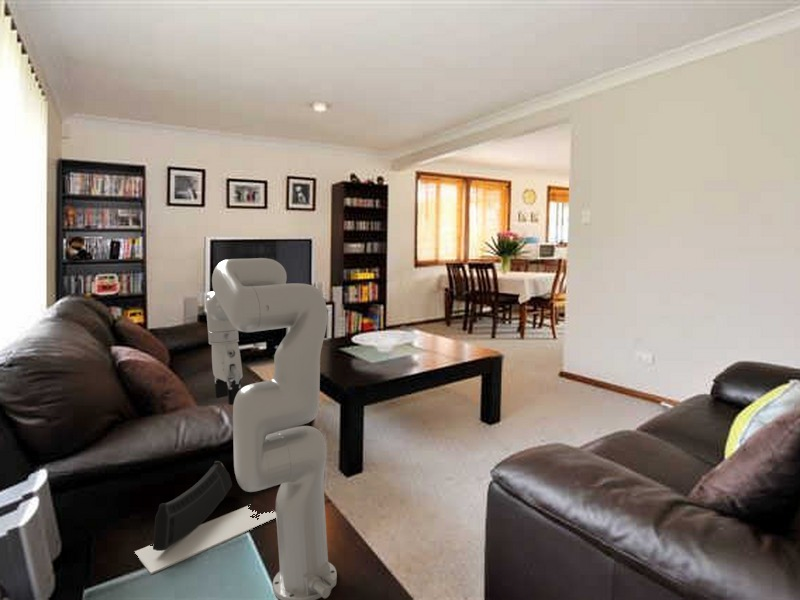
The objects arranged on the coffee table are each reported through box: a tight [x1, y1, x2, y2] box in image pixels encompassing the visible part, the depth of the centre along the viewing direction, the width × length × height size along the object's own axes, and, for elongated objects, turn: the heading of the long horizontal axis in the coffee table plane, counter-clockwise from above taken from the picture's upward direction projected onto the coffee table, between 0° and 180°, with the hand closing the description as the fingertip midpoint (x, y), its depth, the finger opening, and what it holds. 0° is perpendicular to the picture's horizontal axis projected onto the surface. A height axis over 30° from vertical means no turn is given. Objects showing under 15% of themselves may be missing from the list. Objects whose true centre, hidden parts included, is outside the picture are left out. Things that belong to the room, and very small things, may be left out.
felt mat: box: [134, 505, 276, 575], centre depth 118 cm, size 12×31×1 cm, turn 134°
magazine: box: [152, 460, 233, 551], centre depth 122 cm, size 17×3×30 cm
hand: (228, 400), depth 131 cm, fingers open, 9 cm apart
